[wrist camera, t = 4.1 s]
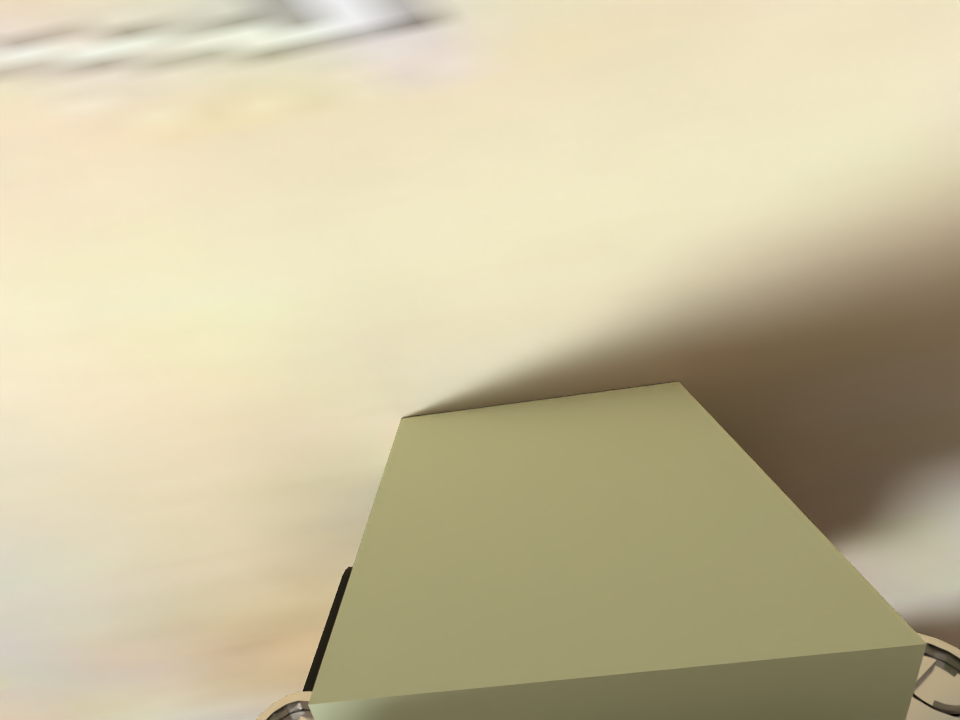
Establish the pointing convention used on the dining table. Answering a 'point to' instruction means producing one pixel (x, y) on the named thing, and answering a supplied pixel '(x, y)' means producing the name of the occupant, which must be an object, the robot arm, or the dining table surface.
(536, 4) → the dining table surface
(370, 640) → the sage block
